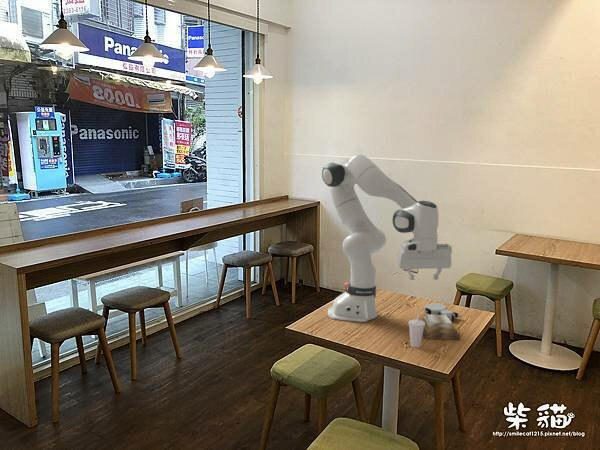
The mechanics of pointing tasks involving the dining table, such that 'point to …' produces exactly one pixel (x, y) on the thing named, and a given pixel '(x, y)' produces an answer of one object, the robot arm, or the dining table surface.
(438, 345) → the dining table surface
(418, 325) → the smoothie
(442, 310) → the robot toy
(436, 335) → the square stepped pedestal
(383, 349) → the dining table surface
